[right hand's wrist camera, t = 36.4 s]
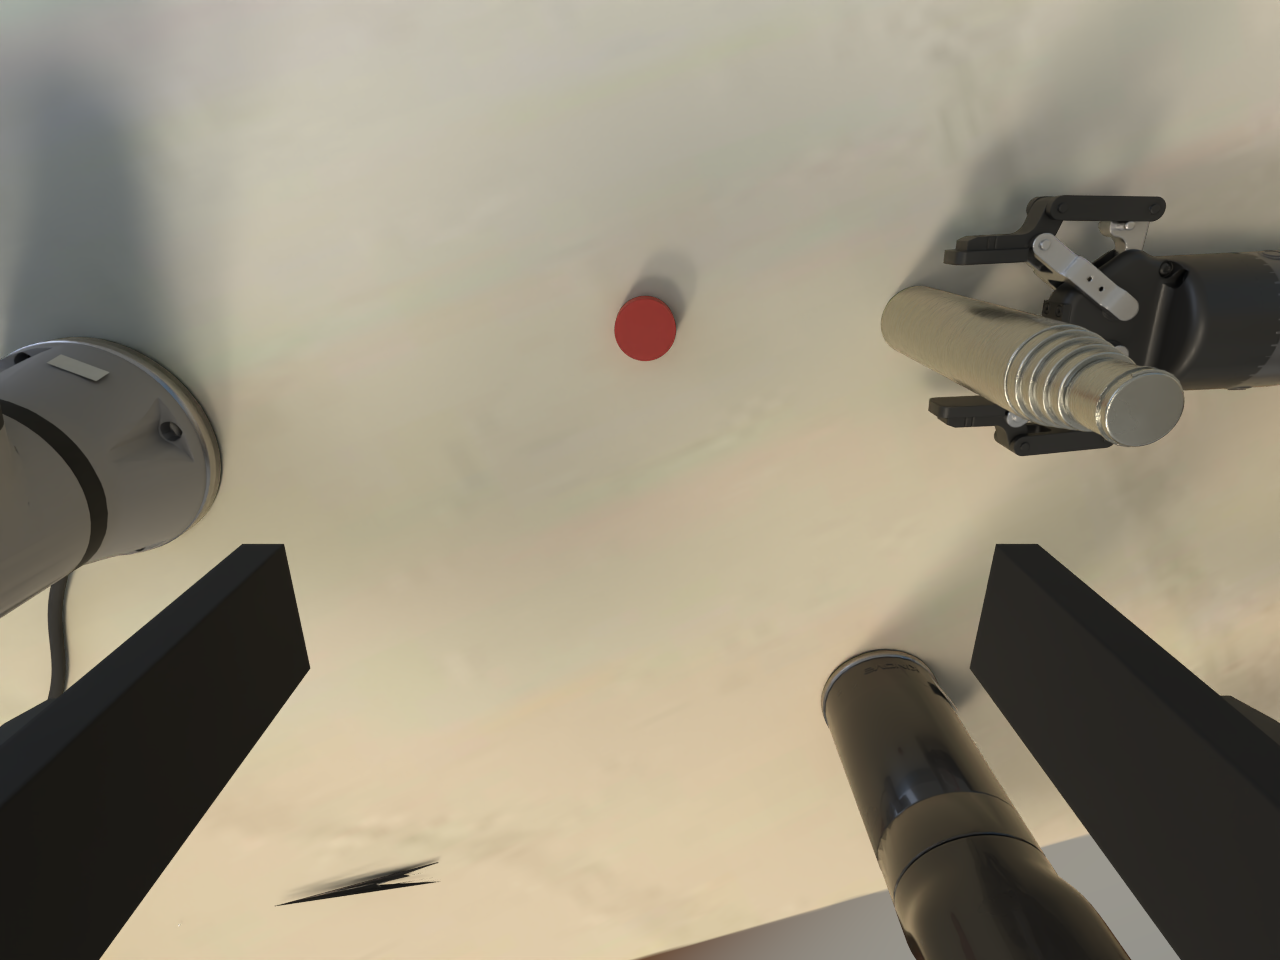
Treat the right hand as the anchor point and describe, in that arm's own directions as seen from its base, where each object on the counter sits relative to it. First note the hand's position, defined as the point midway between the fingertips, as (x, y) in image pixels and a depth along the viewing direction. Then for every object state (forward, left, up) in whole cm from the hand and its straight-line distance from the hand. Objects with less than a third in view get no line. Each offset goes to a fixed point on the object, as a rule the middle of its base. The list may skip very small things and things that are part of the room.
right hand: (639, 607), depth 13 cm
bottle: (+9, -16, -35) cm, 39 cm away
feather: (-61, +2, -35) cm, 70 cm away
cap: (0, 0, -33) cm, 33 cm away
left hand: (+9, -15, -28) cm, 33 cm away
